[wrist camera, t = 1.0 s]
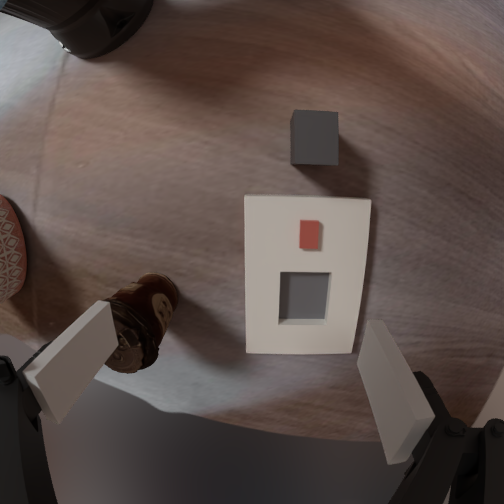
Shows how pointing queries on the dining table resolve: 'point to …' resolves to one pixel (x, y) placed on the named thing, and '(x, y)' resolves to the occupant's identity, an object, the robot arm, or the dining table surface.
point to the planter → (11, 252)
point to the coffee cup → (141, 321)
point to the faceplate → (304, 272)
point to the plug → (314, 137)
